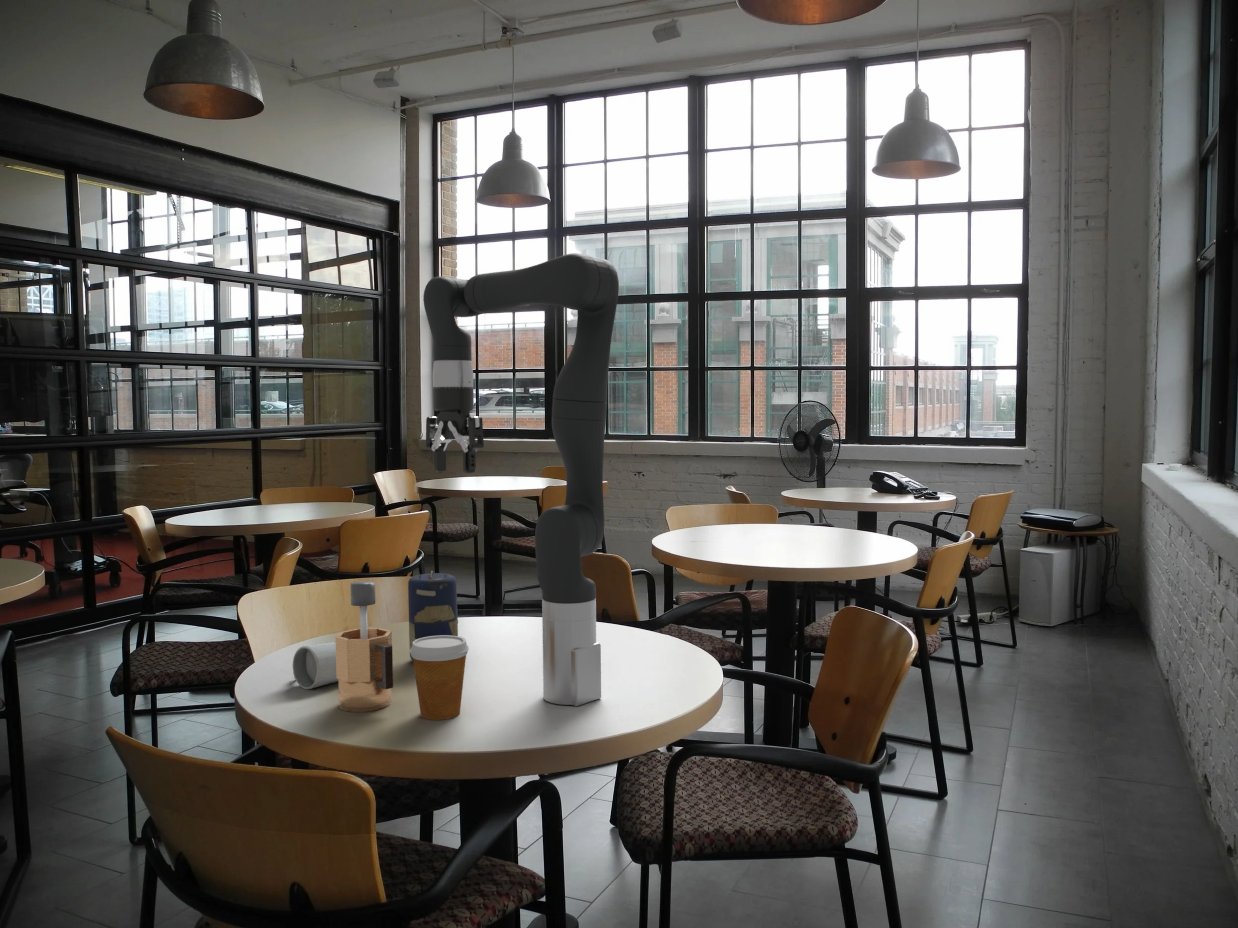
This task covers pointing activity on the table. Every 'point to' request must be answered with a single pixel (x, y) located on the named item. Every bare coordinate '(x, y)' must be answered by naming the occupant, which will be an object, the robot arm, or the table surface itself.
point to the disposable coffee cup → (439, 674)
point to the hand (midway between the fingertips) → (454, 471)
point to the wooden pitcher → (364, 669)
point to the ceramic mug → (315, 665)
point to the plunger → (363, 602)
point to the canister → (432, 606)
